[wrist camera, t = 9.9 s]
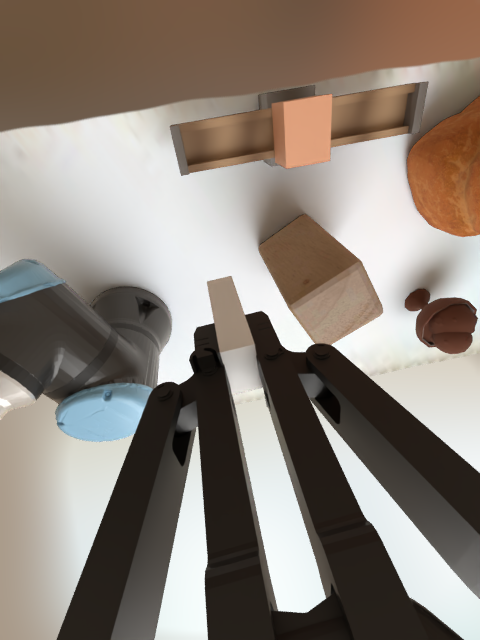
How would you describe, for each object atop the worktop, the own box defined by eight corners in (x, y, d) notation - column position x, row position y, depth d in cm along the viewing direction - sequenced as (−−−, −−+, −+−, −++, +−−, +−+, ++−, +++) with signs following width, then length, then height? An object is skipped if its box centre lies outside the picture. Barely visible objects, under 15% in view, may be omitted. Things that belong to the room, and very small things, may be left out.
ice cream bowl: (430, 318, 68) (483, 363, 56) (385, 321, 67) (430, 368, 55) (450, 276, 62) (514, 316, 50) (401, 279, 61) (455, 321, 49)
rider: (272, 161, 38) (286, 168, 33) (269, 103, 35) (283, 102, 30) (310, 154, 38) (329, 160, 33) (311, 96, 35) (332, 94, 30)
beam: (184, 175, 44) (184, 188, 37) (169, 110, 39) (165, 110, 32) (379, 140, 45) (416, 146, 38) (387, 72, 41) (431, 64, 33)
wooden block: (255, 245, 52) (286, 306, 36) (304, 209, 50) (362, 258, 34) (282, 284, 57) (321, 353, 41) (328, 254, 55) (388, 314, 39)
